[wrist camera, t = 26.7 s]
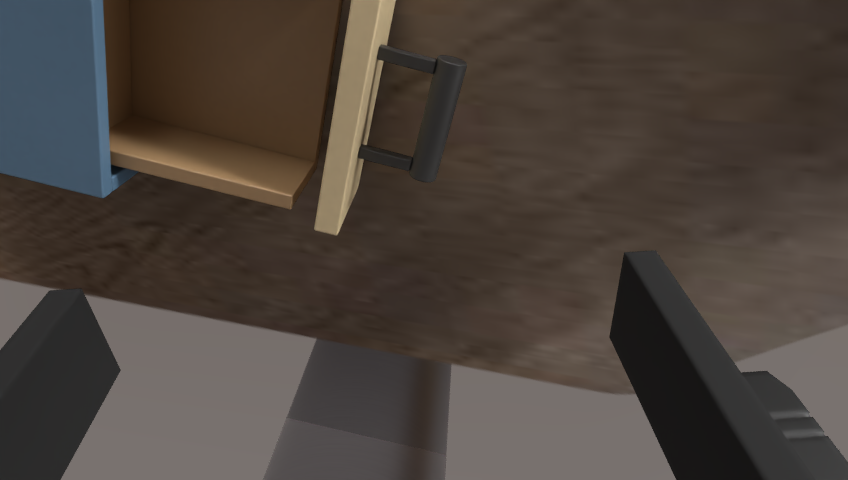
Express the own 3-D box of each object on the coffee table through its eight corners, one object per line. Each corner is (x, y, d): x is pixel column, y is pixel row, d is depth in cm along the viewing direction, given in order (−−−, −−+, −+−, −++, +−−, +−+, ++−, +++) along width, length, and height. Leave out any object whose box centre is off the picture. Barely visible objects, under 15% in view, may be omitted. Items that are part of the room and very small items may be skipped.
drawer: (486, -18, 27) (488, -3, 22) (425, 205, 33) (416, 256, 28) (123, -118, 26) (39, -126, 21) (129, 130, 33) (66, 169, 28)
